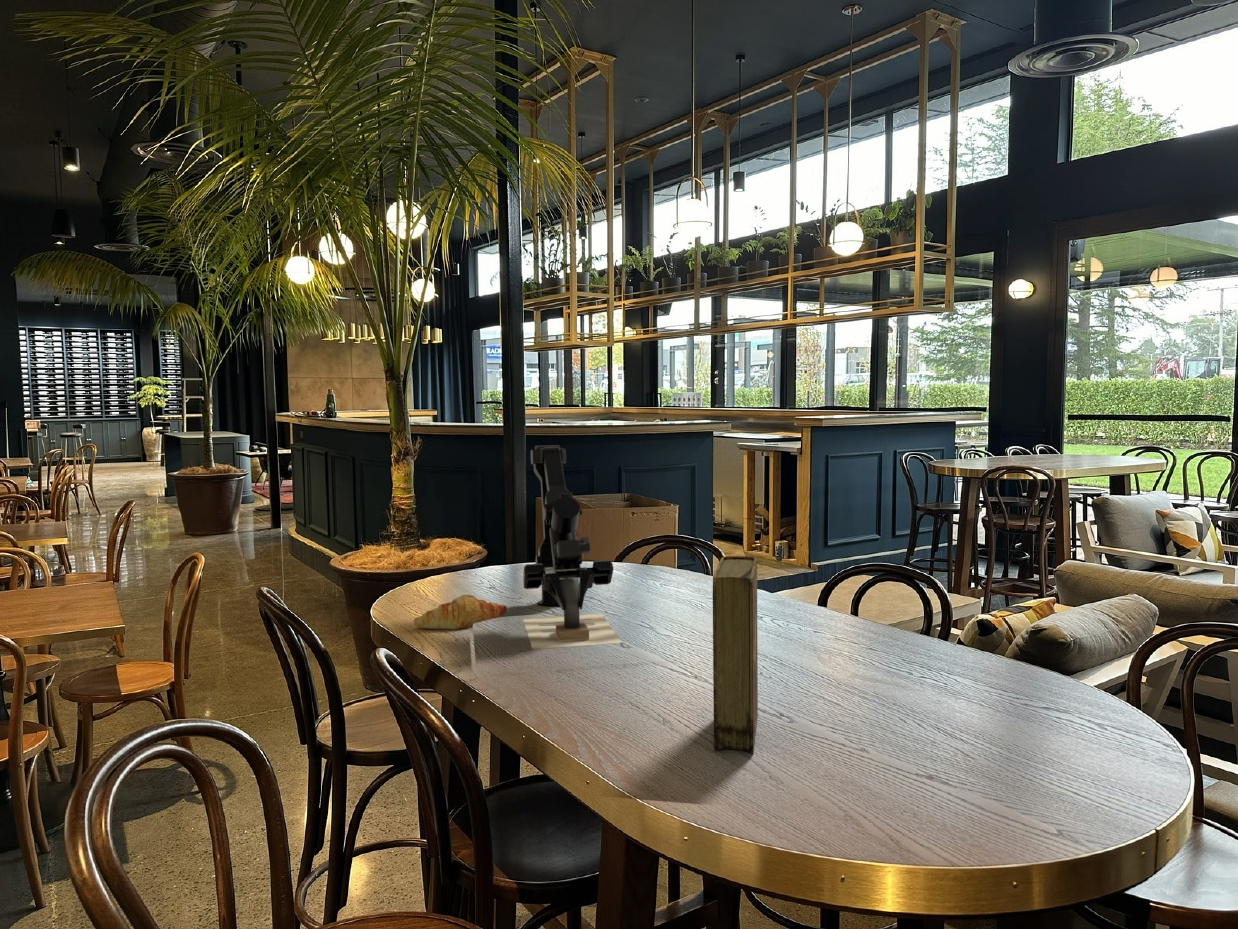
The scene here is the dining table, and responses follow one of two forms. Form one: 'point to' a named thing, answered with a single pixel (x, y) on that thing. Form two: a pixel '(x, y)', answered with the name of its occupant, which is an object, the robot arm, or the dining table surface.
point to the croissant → (459, 613)
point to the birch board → (546, 637)
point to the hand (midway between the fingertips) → (572, 608)
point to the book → (735, 653)
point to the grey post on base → (571, 614)
